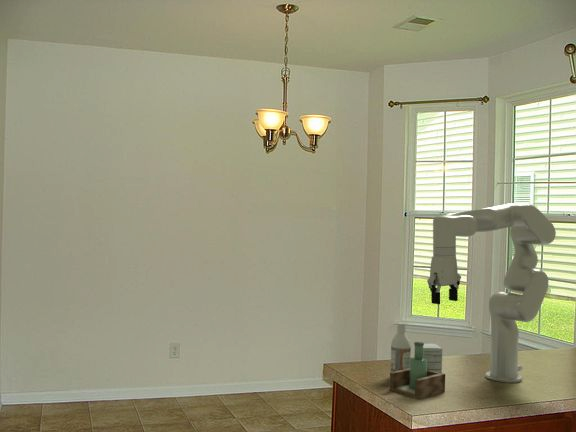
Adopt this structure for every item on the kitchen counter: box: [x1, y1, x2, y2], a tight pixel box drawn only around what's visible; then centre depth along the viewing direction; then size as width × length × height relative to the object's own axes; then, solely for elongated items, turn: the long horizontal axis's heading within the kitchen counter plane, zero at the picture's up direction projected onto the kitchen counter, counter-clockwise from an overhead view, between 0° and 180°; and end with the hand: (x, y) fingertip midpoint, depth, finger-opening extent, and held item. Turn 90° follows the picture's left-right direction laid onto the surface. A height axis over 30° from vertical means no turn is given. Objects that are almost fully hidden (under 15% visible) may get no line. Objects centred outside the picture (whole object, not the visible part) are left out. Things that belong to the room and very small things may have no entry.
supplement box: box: [423, 343, 443, 373], centre depth 218 cm, size 7×7×13 cm
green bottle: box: [409, 341, 427, 389], centre depth 204 cm, size 6×6×15 cm
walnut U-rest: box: [389, 368, 446, 400], centre depth 204 cm, size 14×12×6 cm
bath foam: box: [389, 322, 412, 373], centre depth 220 cm, size 7×7×20 cm
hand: (444, 302), depth 208 cm, fingers open, 9 cm apart
